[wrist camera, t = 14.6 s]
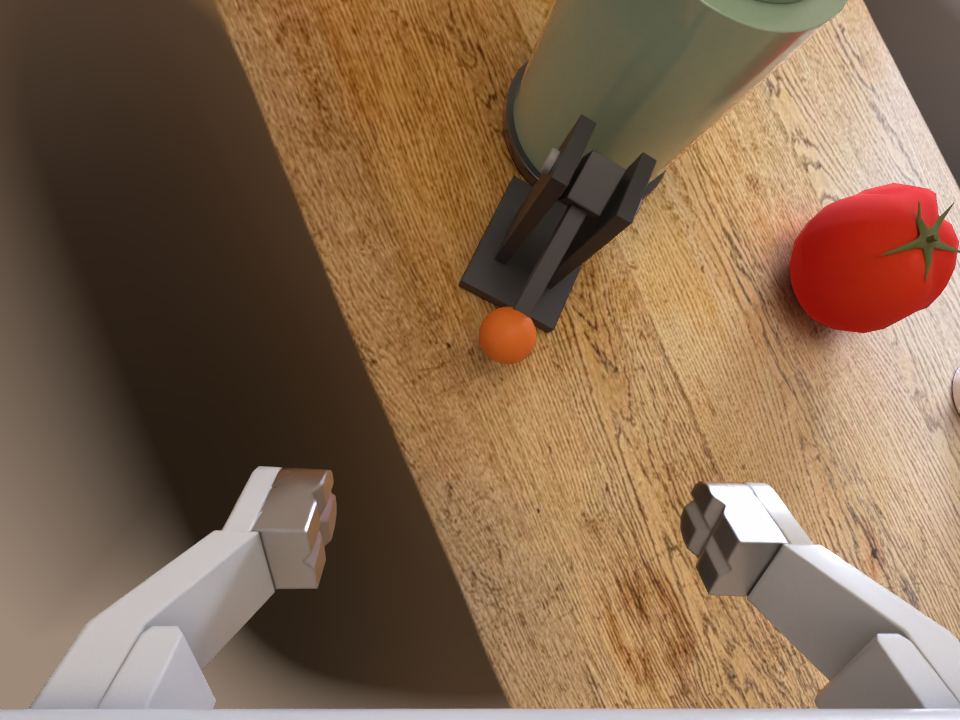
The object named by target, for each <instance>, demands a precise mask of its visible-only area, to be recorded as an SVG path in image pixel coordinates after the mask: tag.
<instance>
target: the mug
mask: <svg viewBox="0 0 960 720" xmlns="http://www.w3.org/2000/svg"><path fill="white" fill-rule="evenodd" d="M953 398H954V402H955V405H956V408H957V410H958V412H959V414H960V367H959V368H958V369H957V371H956V373H955V376H954V379H953Z"/></svg>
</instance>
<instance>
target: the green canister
mask: <svg viewBox="0 0 960 720" xmlns="http://www.w3.org/2000/svg"><path fill="white" fill-rule="evenodd" d="M847 1H848V0H554V2H553V4H552V7H551V9H550V12H549V14H548V16H547V19H546V21H545V23H544V26H543V28H542V31H541V33H540V35H539V38H538V40H537V42H536V45H535V47H534V50H533V52H532V54H531V57H530V59H529V60H528V61H527V62H526V63H525V64H524V65H523V66H522V67H521V68H520V69H519V71H518V72H517V74H516V75H515V77H514V78H513V81H512V83H511V85H510V88H509V90H508V93H507V95H506V99H505V102H504V107H503V116H502V117H503V131H504V137H505V141H506V144H507V147H508V150H509V152H510V155H511V157H512V159H513V161H514V163H515V164H516V166H517V168H518V169H519V171H520V172H521V173H522V175H523V176H524V177H525V179H526V180H527V181H528V182H529V183H530V184H531V185H532V186H533V187H534V186H535V184H536V183H537V181H538V180H539V178H540V177H541V175H542V174H543V172H541V171H540V170H541V167H542V165H543V163H544V161H545V159H546V157H547V156H548V154H549V152H550V151H551V149H552V148H555V149H557V150H558V149H559V148H560V146H561V144H562V143H563V141H564V140H565V138H566V137H567V135H568V134H569V132H570V131H571V129H572V128H573V126H574V125H575V123H576V121H577V120H578V118H579V117H580V115H584V116H585V117H587V118H589V119H590V120H592V121H594V122H595V123H596V126H595V128H594V131H593V133H592V135H591V137H590V139H589V141H588V144H587V146H586V148H585V150H584V152H583V154H582V156H581V159H582V157H583V156H585V155H586V154H588V153H589V152H591V151H592V150H594V151H596V152H598V153H599V154H601V155H603V156H604V157H606V158H608V159H609V160H611V161H613V162H614V163H616V164H618V165H619V166H621V167H623V168H624V169H625V170H626V169H627V168H628V167H629V166H630V165H631V164H632V163H633V162H634V161H635V160H636V159H637V158H638V157H639V156H640V154H641V153H643V152H644V153H646V154H647V155H649V156H650V157H652V158H654V159H655V160H657V162H656V165H655V167H654V170H653V172H652V175H651V177H650V180H649V182H648V184H647V187H646V189H645V192H644V194H643V197H642V199H641V200H643V199H644V198H645V197H646V196H648V195H649V194H650V193H651V192H652V191H653V190H654V189H655V188H656V187H657V185H658V184H659V182H660V181H661V179H662V178H663V176H664V173H665V171H666V169H667V168H668V167H669V166H670V165H671V164H673V163H674V162H675V161H676V160H677V159H678V158H679V157H680V156H681V155H682V154H684V153H685V152H686V151H687V150H688V149H689V148H690V147H691V146H692V145H694V144H695V143H696V142H697V141H698V140H699V139H700V138H701V137H702V136H703V135H705V134H706V133H707V132H708V131H709V130H710V129H711V128H712V127H713V126H715V125H716V124H717V123H718V122H719V121H720V120H721V119H722V118H723V117H724V116H726V115H727V114H728V113H729V112H730V111H731V110H732V109H733V108H734V107H735V106H737V105H738V104H739V103H740V102H741V101H742V100H743V99H744V98H745V97H747V96H748V95H749V94H750V93H751V92H752V91H753V90H754V89H755V88H756V87H758V86H759V85H760V84H761V83H762V82H763V81H764V80H765V79H766V78H768V77H769V76H770V75H771V74H772V73H773V72H774V71H775V70H776V69H777V68H779V67H780V66H781V65H782V64H783V63H784V62H785V61H786V60H787V59H789V58H790V57H791V56H792V55H793V54H794V53H795V52H796V51H797V50H798V49H800V48H801V47H802V46H803V45H804V44H805V43H806V42H807V41H808V40H809V39H811V38H812V37H813V36H814V35H815V34H816V33H817V32H818V31H819V30H821V29H822V28H823V27H824V26H825V25H826V24H827V23H828V22H829V21H830V20H832V19H833V18H834V17H835V16H836V15H837V14H838V13H839V12H840V11H841V10H842V8H843V7H844V5H845V4H846V2H847ZM581 159H580V161H581ZM580 161H579V163H580ZM579 163H578V165H579ZM578 165H577V166H578ZM576 168H577V167H576ZM575 170H576V169H575ZM562 194H563V193H562ZM562 194H561V195H560V197H559V198H558V199H557V201H559V202H560V203H562V204H564V205H566V206H567V207H568V205H567V204H565V203H564V202H562V201H560V198H561V196H562Z"/></svg>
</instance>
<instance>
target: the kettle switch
mask: <svg viewBox="0 0 960 720" xmlns="http://www.w3.org/2000/svg"><path fill="white" fill-rule="evenodd" d="M625 172H626V170H625V169H624V168H623V167H621V166H619V165H618V164H616V163H614V162H613V161H611V160H609V159H608V158H606V157H604V156H603V155H601V154H599V153H598V152H596V151H594V150H592V151H591V152H589V153H588V154H586V155H585V156H583V157H582V159H581V161H580V163H579V165H578V166H577V168H576V170H575V172H574V174H573V176H572V178H571V180H570V182H569V185H568V186H567V188H566V189H565V190H564V192H563V194H562V196H561V198H560V201H562V202H564V203H565V204H567V205H568V207H567V209H566V211H565V212H564V214H563V216H562V218H561V220H560V221H559V223H558V225H557V227H556V229H555V231H554V232H553V234H552V236H551V238H550V240H549V241H548V243H547V245H546V247H545V249H544V250H543V252H542V254H541V256H540V258H539V259H538V261H537V263H536V265H535V267H534V269H533V270H532V272H531V274H530V276H529V278H528V279H527V281H526V283H525V285H524V287H523V288H522V290H521V292H520V294H519V296H518V297H517V299H516V301H515V303H514V305H513V307H501V308H498V309H495V310H493V311H492V312H490V313H489V314H488V315H487V316H486V317H485V318H484V320H483V321H482V323H481V326H480V329H479V342H480V345H481V348H482V350H483V351H484V353H485V354H486V355H487V356H488V357H489V358H490V359H492V360H494V361H495V362H498V363H501V364H514V363H517V362H520V361H522V360H523V359H525V358H526V357H527V356H528V355H529V354H530V353H531V351H532V350H533V348H534V345H535V342H536V328H535V325H534V323H533V321H532V319H531V318H530V315H531V313H532V311H533V309H534V308H535V306H536V304H537V302H538V301H539V299H540V297H541V295H542V294H543V292H544V290H545V288H546V286H547V285H548V283H549V281H550V279H551V278H552V276H553V274H554V272H555V271H556V269H557V267H558V265H559V263H560V262H561V260H562V258H563V256H564V255H565V253H566V251H567V249H568V248H569V246H570V244H571V242H572V240H573V239H574V237H575V235H576V233H577V232H578V230H579V228H580V226H581V225H582V223H583V221H584V219H585V218H586V216H588V217H596V216H600V215H601V213H602V212H603V210H604V208H605V206H606V205H607V203H608V201H609V199H610V198H611V196H612V194H613V192H614V191H615V189H616V187H617V186H618V184H619V182H620V180H621V179H622V177H623V175H624V173H625Z"/></svg>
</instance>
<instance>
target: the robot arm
mask: <svg viewBox="0 0 960 720" xmlns="http://www.w3.org/2000/svg"><path fill="white" fill-rule="evenodd" d="M332 486H333V475H332V471H330V470H322V469H304V468H287V467H283V468H280V467H262V466H259V467H258V468H256V469H255V470H254V471H253V472H252V474H251V476H250V478H249V480H248V482H247V484H246V485H245V487H244V489H243V491H242V493H241V495H240V497H239V499H238V501H237V503H236V505H235V506H234V508H233V510H232V513H231V514H230V516H229V518H228V520H227V522H226V524H225V526H224V527H223V529H222V531H213V532H212V533H210V534H209V535H207V536H206V537H205V538H203V539H202V540H201V541H199V542H198V543H196V544H195V545H194V546H192V547H191V548H190V549H188V550H187V551H185V552H184V553H182V554H181V555H180V556H179V557H177V558H176V559H174V560H173V561H171V562H170V563H169V564H167V565H166V566H165V567H163V568H162V569H160V570H159V571H158V572H156V573H155V574H153V575H152V576H151V577H149V578H148V579H147V580H145V581H144V582H142V583H141V584H140V585H138V586H137V587H136V588H134V589H133V590H132V591H130V592H129V593H127V594H126V595H124V596H123V597H122V598H120V599H119V600H117V601H116V602H115V603H113V604H112V605H111V606H109V607H108V608H106V609H105V610H104V611H102V612H101V613H100V614H98V615H97V616H95V617H94V618H93V619H91V620H90V621H88V622H87V624H86V625H85V626H84V628H83V629H82V631H81V632H80V634H79V635H78V637H77V638H76V640H75V641H74V643H73V644H72V645H71V647H70V648H69V650H68V651H67V653H66V654H65V656H64V657H63V659H62V660H61V662H60V663H59V665H58V666H57V667H56V669H55V671H54V672H53V673H52V675H51V676H50V678H49V679H48V681H47V682H46V684H45V685H44V686H43V688H42V689H41V691H40V692H39V694H38V695H37V697H36V698H35V700H34V701H33V703H32V704H31V706H30V707H29V709H0V720H960V642H959V641H958V640H957V638H956V637H955V636H954V635H953V634H952V633H951V632H950V631H948V630H947V629H945V628H944V627H942V626H941V625H939V624H938V623H936V622H935V621H933V620H932V619H930V618H929V617H927V616H926V615H924V614H923V613H921V612H920V611H918V610H917V609H915V608H914V607H912V606H911V605H910V604H908V603H907V602H905V601H904V600H902V599H901V598H899V597H898V596H896V595H895V594H893V593H892V592H890V591H889V590H887V589H886V588H884V587H883V586H881V585H880V584H878V583H877V582H875V581H874V580H872V579H871V578H869V577H868V576H866V575H865V574H863V573H862V572H860V571H859V570H857V569H856V568H854V567H853V566H851V565H850V564H849V563H847V562H846V561H844V560H843V559H841V558H840V557H838V556H837V555H835V554H834V553H832V552H831V551H829V550H828V549H826V548H825V547H823V546H822V545H814V544H813V543H812V541H811V540H810V539H809V537H808V536H807V534H806V533H805V532H804V530H803V529H802V528H801V526H800V525H799V524H798V522H797V521H796V519H795V518H794V517H793V515H792V514H791V513H790V511H789V510H788V509H787V507H786V506H785V505H784V503H783V502H782V500H781V499H780V498H779V496H778V495H777V494H776V492H775V491H774V490H773V488H772V487H771V486H769V485H768V484H766V483H745V482H744V483H740V482H703V481H700V482H698V483H697V484H696V485H695V486H694V488H693V490H692V492H691V494H692V496H693V498H694V500H693V501H692V502H690V503H689V504H687V505H686V506H685V507H684V509H683V512H682V514H681V524H680V529H681V533H682V537H683V540H684V542H685V544H686V547H687V549H689V550H690V551H691V552H692V553H693V554H695V555H696V556H697V557H698V560H697V563H696V568H697V570H698V573H699V575H700V577H701V579H702V581H703V583H704V585H705V588H706V590H707V592H708V594H709V595H725V596H747V599H748V600H749V601H750V602H751V603H752V604H753V605H754V606H755V607H756V608H757V609H758V610H759V611H760V612H761V613H762V614H763V615H764V616H765V617H766V618H767V619H768V620H769V621H770V622H771V623H772V624H773V625H774V626H775V627H776V628H777V629H778V630H779V631H780V632H781V633H782V634H783V635H784V636H785V637H786V638H787V639H788V640H789V641H790V642H791V643H792V644H793V645H794V646H795V647H796V648H797V649H798V650H799V651H800V652H801V653H802V654H803V655H804V656H805V657H806V658H807V659H808V660H809V661H810V662H811V663H812V664H813V665H814V666H815V667H816V668H817V669H818V670H819V671H820V672H821V673H822V674H824V675H825V676H826V677H827V678H828V679H829V680H830V682H829V683H828V684H827V685H826V686H825V687H824V688H823V689H822V690H821V691H820V692H819V693H818V694H817V696H816V698H815V703H816V705H817V706H818V708H819V709H213V708H214V706H215V703H216V699H215V697H214V695H213V693H212V691H211V689H210V687H209V685H208V683H207V681H206V679H205V677H204V675H203V673H202V670H203V669H204V668H205V667H206V665H207V664H208V663H209V662H210V661H211V660H212V659H213V658H214V657H215V656H216V655H217V654H218V652H219V651H220V650H221V649H222V648H223V647H224V646H225V645H226V644H227V643H228V642H229V641H230V640H231V638H232V637H233V636H234V635H235V634H236V633H237V632H238V631H239V630H240V629H241V628H242V627H243V626H244V624H245V623H246V622H247V621H248V620H249V619H250V618H251V617H252V616H253V615H254V614H255V613H256V612H257V610H258V609H259V608H260V607H261V606H262V605H263V604H264V603H265V602H266V601H267V600H268V599H269V597H270V596H271V595H272V594H273V593H274V592H275V589H314V588H315V589H317V588H318V585H319V582H320V578H321V575H322V571H323V568H324V564H325V561H326V556H325V549H324V546H325V545H327V543H329V542H330V541H331V539H332V535H333V532H334V527H335V521H336V496H335V495H333V494H332V493H331V489H332Z"/></svg>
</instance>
